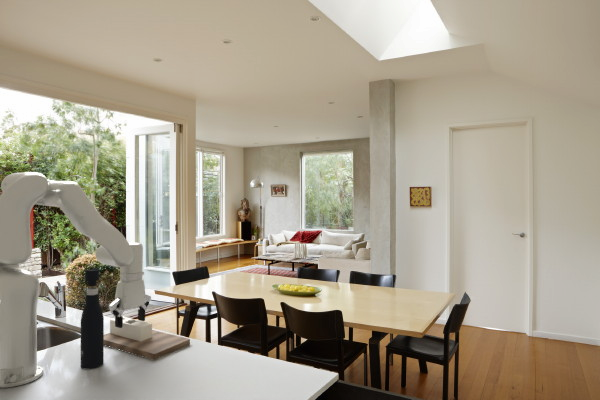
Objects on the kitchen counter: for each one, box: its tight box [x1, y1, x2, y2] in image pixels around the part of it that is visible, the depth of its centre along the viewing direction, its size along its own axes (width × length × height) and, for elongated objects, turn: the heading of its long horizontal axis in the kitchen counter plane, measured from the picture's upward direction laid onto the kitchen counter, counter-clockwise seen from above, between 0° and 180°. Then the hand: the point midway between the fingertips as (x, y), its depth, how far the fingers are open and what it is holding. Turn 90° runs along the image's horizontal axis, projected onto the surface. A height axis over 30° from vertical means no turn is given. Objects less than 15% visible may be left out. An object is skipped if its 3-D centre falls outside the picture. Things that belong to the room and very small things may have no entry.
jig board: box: [104, 318, 191, 361], centre depth 148 cm, size 30×16×8 cm, turn 61°
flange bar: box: [109, 316, 153, 341], centre depth 151 cm, size 17×5×5 cm, turn 61°
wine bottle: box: [80, 268, 105, 370], centre depth 129 cm, size 6×6×30 cm
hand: (130, 323), depth 151 cm, fingers open, 9 cm apart
